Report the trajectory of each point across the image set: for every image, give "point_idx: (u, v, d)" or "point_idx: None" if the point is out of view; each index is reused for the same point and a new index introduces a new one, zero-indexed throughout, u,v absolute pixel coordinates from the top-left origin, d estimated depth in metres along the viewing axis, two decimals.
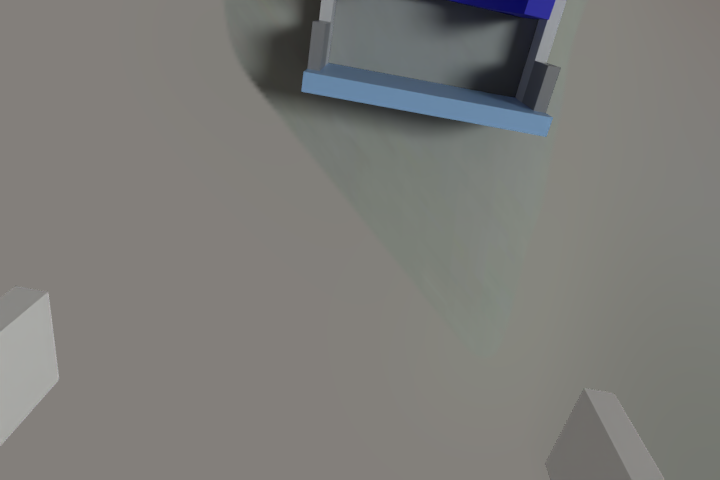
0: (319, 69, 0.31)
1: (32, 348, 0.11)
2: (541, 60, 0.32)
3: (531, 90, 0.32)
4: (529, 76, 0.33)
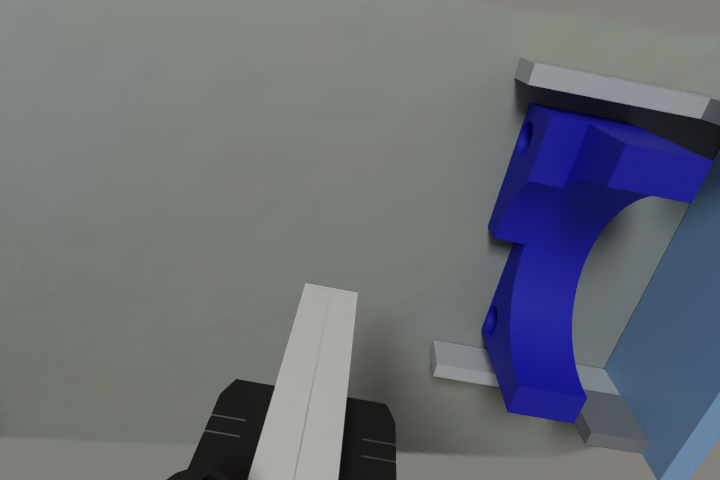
0: (646, 440, 0.22)
1: None
2: (703, 107, 0.19)
3: None
4: None
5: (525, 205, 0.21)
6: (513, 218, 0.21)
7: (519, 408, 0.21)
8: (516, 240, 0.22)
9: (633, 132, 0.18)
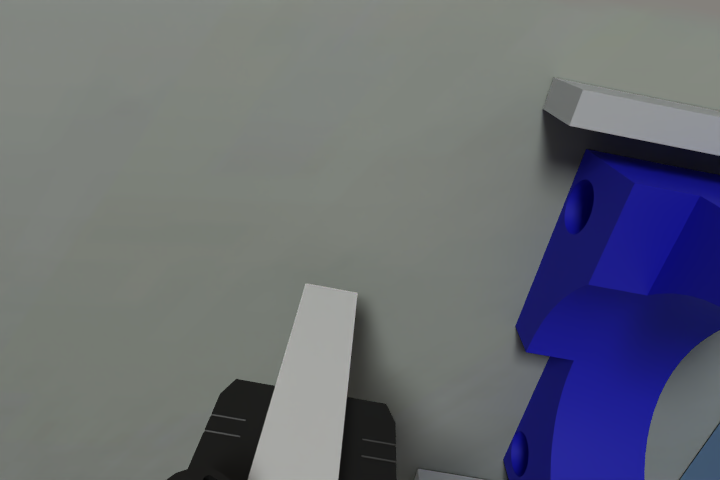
0: None
1: None
2: None
3: None
4: None
5: (578, 311, 0.13)
6: (557, 326, 0.14)
7: None
8: (560, 355, 0.14)
9: None
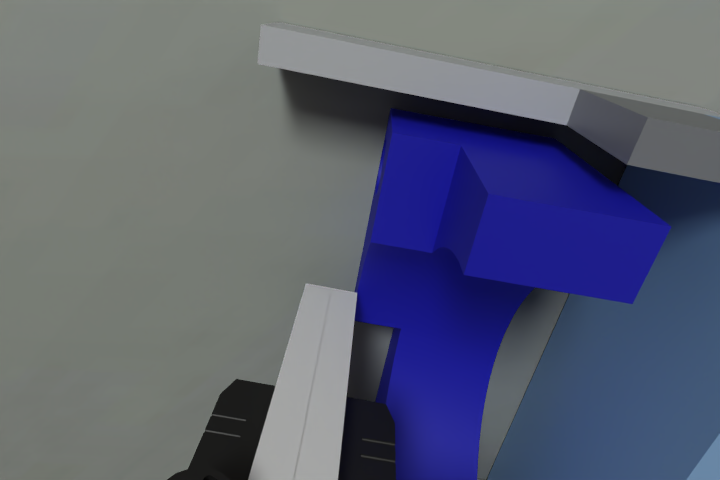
0: None
1: None
2: (569, 105, 0.11)
3: None
4: None
5: (386, 274, 0.13)
6: (374, 292, 0.14)
7: None
8: (386, 323, 0.14)
9: (541, 159, 0.10)
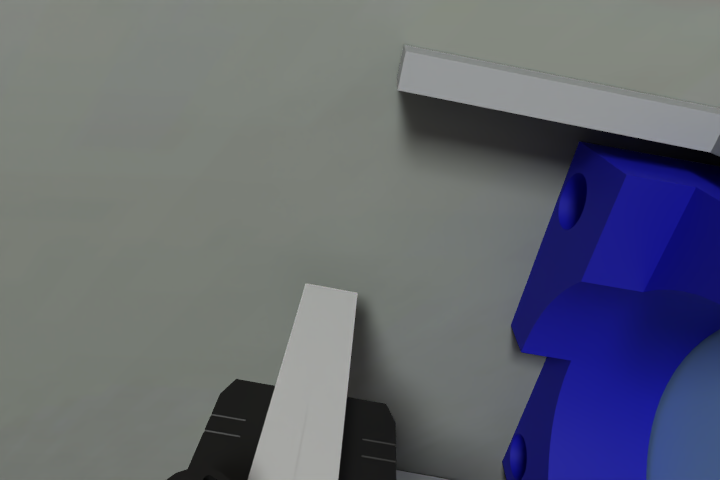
0: None
1: None
2: (716, 132, 0.10)
3: None
4: None
5: (573, 309, 0.13)
6: (552, 325, 0.13)
7: None
8: (557, 355, 0.14)
9: None
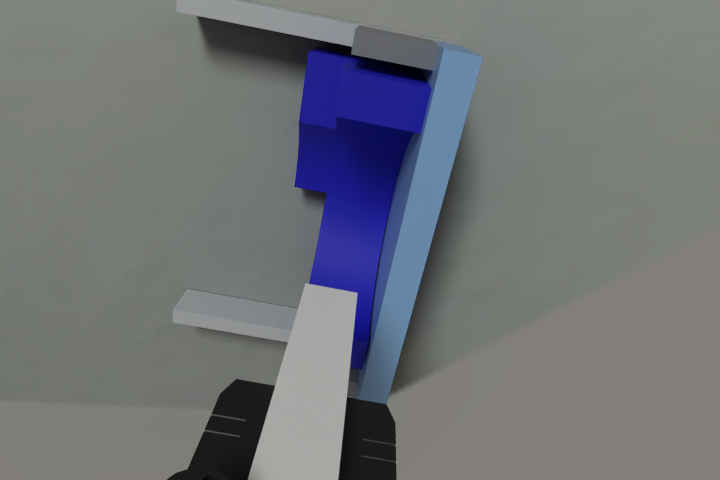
0: (356, 381, 0.22)
1: None
2: None
3: None
4: None
5: (313, 150, 0.21)
6: (307, 165, 0.21)
7: None
8: (316, 188, 0.22)
9: (393, 70, 0.18)
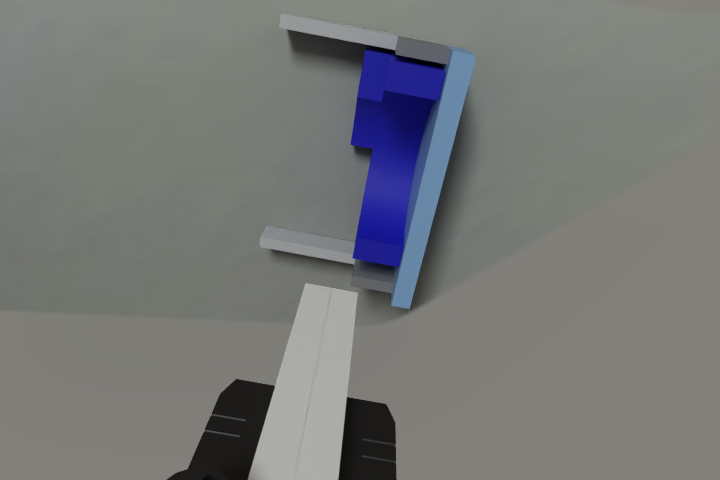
0: (392, 282, 0.32)
1: None
2: (395, 42, 0.28)
3: None
4: None
5: (365, 118, 0.31)
6: (360, 128, 0.31)
7: (360, 255, 0.30)
8: (366, 145, 0.32)
9: (420, 61, 0.28)
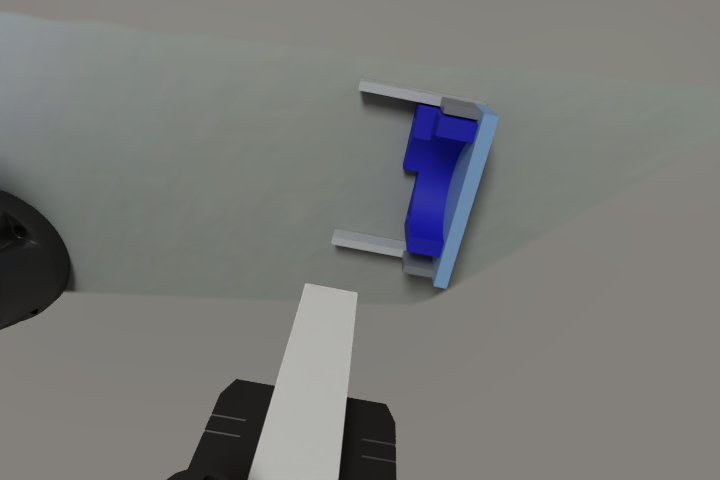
0: (433, 270, 0.44)
1: None
2: (439, 100, 0.41)
3: None
4: None
5: (415, 150, 0.43)
6: (411, 158, 0.43)
7: (412, 249, 0.43)
8: (414, 169, 0.44)
9: None
